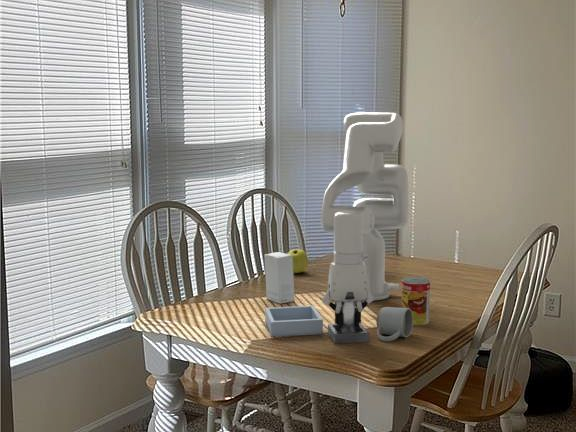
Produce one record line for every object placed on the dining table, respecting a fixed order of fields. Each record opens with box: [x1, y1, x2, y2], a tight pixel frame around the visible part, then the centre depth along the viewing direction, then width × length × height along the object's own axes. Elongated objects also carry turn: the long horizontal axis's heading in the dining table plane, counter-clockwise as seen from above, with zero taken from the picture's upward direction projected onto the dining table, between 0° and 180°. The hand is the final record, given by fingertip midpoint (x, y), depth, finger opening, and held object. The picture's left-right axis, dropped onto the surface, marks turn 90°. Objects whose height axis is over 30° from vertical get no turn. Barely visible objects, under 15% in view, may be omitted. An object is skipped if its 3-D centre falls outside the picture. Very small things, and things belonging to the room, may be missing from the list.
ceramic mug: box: [375, 306, 414, 342], centre depth 200 cm, size 11×8×8 cm
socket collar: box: [327, 322, 370, 345], centre depth 199 cm, size 9×9×2 cm
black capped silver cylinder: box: [340, 292, 356, 333], centre depth 199 cm, size 5×5×13 cm
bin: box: [264, 305, 324, 337], centre depth 208 cm, size 14×14×4 cm
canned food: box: [401, 276, 431, 326], centre depth 212 cm, size 8×8×12 cm
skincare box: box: [263, 251, 296, 304], centre depth 236 cm, size 8×6×15 cm
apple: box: [286, 248, 309, 274], centre depth 273 cm, size 8×8×10 cm
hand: (347, 325), depth 199 cm, fingers closed on black capped silver cylinder, 4 cm apart
